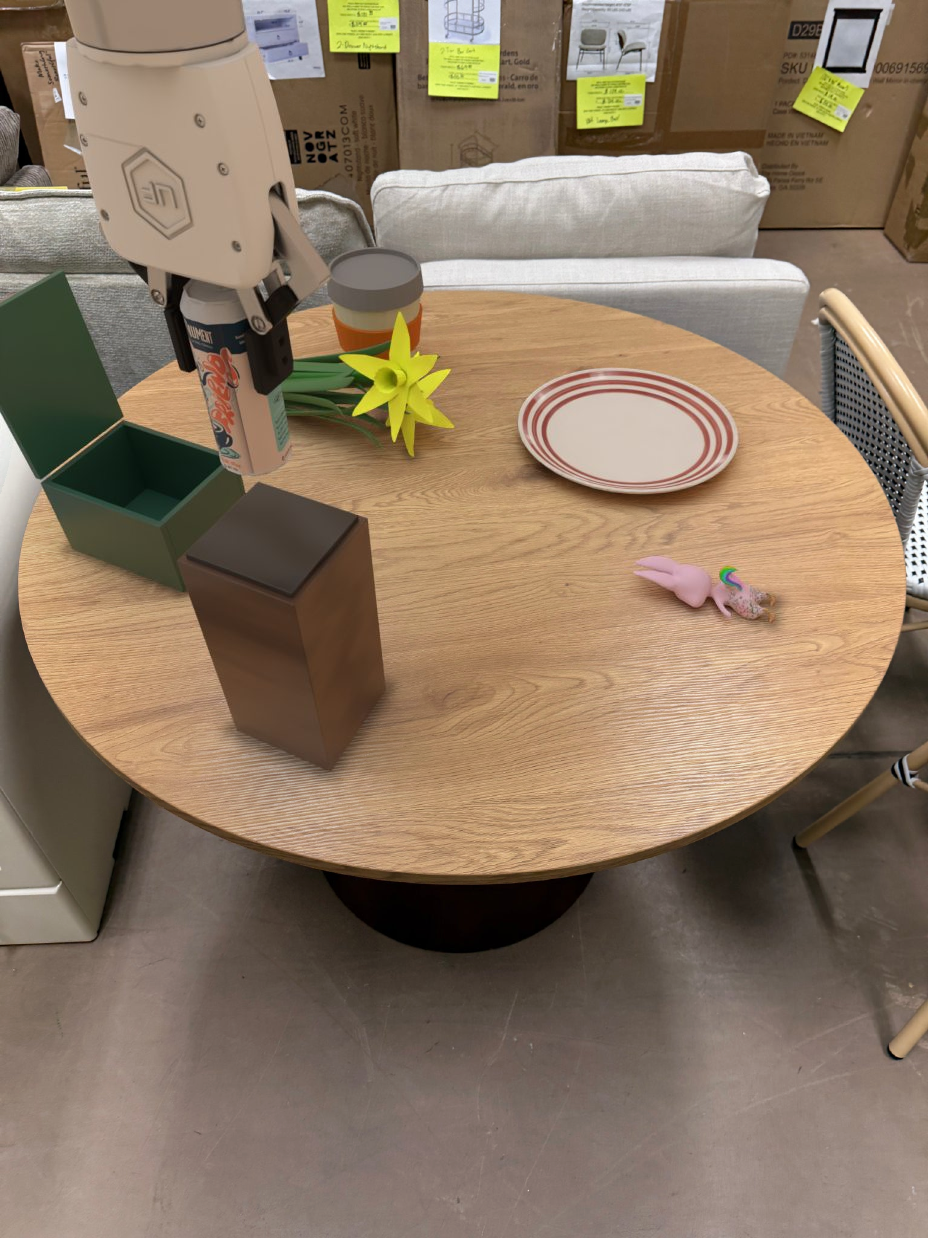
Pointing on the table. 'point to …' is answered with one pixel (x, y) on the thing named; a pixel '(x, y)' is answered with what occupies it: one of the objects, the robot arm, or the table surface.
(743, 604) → the rabbit figure
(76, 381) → the lid
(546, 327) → the table surface
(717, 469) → the dinner plate
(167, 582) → the box
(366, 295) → the reusable coffee cup
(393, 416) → the daffodil flowers
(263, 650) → the stand
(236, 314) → the beer can
